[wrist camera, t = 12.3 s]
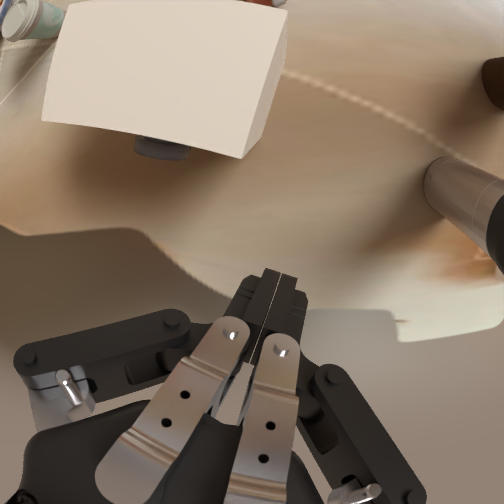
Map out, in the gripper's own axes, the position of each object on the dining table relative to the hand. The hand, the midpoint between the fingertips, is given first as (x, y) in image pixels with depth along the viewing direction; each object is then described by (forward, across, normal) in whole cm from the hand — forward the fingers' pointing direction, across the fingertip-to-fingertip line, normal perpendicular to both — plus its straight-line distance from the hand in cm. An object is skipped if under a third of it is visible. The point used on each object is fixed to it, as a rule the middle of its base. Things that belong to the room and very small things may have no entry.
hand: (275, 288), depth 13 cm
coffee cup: (+24, +50, -20) cm, 58 cm away
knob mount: (+28, +18, -8) cm, 34 cm away
